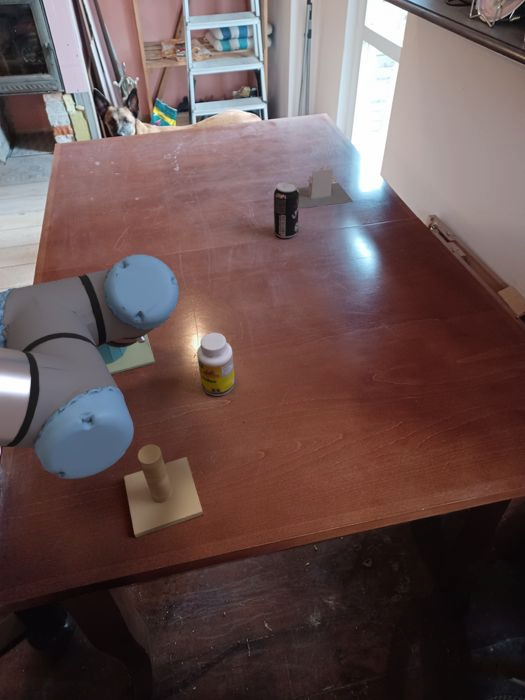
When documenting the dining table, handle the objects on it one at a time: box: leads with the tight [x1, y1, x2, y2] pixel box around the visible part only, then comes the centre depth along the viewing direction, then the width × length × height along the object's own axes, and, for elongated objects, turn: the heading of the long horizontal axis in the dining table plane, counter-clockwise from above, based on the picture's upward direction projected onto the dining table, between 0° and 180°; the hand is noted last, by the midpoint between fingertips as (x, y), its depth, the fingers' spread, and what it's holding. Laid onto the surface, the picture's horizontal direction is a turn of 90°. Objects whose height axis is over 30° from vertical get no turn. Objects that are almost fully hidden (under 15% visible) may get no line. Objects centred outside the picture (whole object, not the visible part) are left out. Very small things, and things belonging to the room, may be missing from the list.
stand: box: [123, 443, 204, 538], centre depth 62 cm, size 9×9×10 cm
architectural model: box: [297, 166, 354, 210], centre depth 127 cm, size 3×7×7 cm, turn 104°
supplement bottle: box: [196, 332, 236, 397], centre depth 77 cm, size 6×6×10 cm
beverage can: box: [273, 181, 300, 239], centre depth 111 cm, size 6×6×12 cm
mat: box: [106, 333, 156, 375], centre depth 86 cm, size 16×12×1 cm
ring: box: [97, 344, 127, 364], centre depth 83 cm, size 8×8×8 cm
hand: (103, 339), depth 81 cm, fingers open, 13 cm apart
